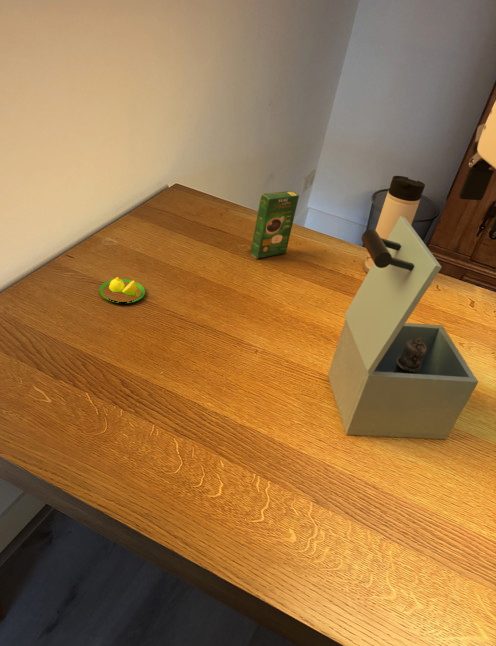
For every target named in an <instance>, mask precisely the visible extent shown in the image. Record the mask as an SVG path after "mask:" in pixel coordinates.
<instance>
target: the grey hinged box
mask: <svg viewBox="0 0 496 646" xmlns="http://www.w3.org/2000/svg"><path fill="white" fill-rule="evenodd" d="M419 337H421V338H422V341H421V342H423V343H424V344H425V346H426V352H425V355H424V357H423V359H422V361H421V365H422V368H421V370H420V371H418V372H417V374H408V373H392V372H387V371H394V370H395V368H396V365H397V362H396V359H397V358H398V357H399V356H401V355H402V352H403V350H404V348H405V345H406V343H407V342H408V341H410V340H417V338H419ZM327 378H328V381H329V385H330V388H331V392H332V394H333V398H334V400H335V401H334V402H335V404H336V408H337V410H338V413H339V417H340V420H341V423H342V427H343V430H344V432H345V435H347V436H365V437H366V436H367V437H369V436H370V437H386V438H387V437H388V438H389V437H390V438H406V439H407V438H410V439H431V440H447V439H448V437H449V435H450V434H451V432H452V430H453V429H454V427H455V425H456V423H457V421H458V420H459V418H460V415H461V414H462V412H463V410H464V409H465V408H466V405H467V403H468V401H469V400H470V398H471V396H472V394H473V392H474V391H475V389H476V387H477V385H478V383H479V381H478V379H477V377H476V376H475V375H474V373H473V372H472V370H471V368H470V366H469V365H468V364H467V361H466V360H465V359H464V357H463V355H462V354H461V352H460V350H459V349H458V348H457V346H456V345H455V343H454V341H453V340H452V337H450V335H449V333H448V332H447V330H446V329H445V326H444V325H442V324H429V323H415V322H406V323H405V324H404V326H403V327H402V329H401V330H400V332H399V333H398V335H397V336H396V338H395V339H394V341H393V342H392V344H391V345H390V347H389V349H388V350H387V352H386V353H385V355H384V356H383V358H382V359H381V361H380V362H379V364H378V365H377V367H376V368H375V370H374V371H373V373H371V372H367V370H366V367H365V365H364V362H363V360H362V357H361V355H360V352H359V350H358V348H357V345H356V343H355V340H354V338H353V335H352V333H351V330H350V328H349V325H348V323H347V320H346V319H345V320H344V323H343V325H342V330H341V333H340V335H339V339H338V342H337V345H336V348H335V351H334V353H333V357H332V360H331V364H330V367H329V370H328V373H327Z"/></svg>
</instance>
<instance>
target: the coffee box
mask: <svg viewBox="0 0 496 646" xmlns="http://www.w3.org/2000/svg"><path fill="white" fill-rule="evenodd" d="M299 197H300V195H299V194H298V193H296V192H295V191H293V190H285V191H277V192H265V193H261V194H260V199H259V204H258V210H257V216H256V220H255V226H254V232H253V237H252V241H251V247H250V253H249V254H250V255H251V256H252V257H253V258H254V259H257V260H258V259H265V258H268V257H273V256H280V255H284V254H286V253H287V251H288V246H289V243H290V236H291V232H292V229H293V223H294V220H295V216H296V210H297V207H298V203H299V199H300V198H299Z"/></svg>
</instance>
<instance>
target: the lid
mask: <svg viewBox="0 0 496 646" xmlns="http://www.w3.org/2000/svg"><path fill="white" fill-rule="evenodd" d="M375 230H376V229H372V228H371V229H367V230H365V231H364V232H363V233H362V235H361V242H362V243H363V245H364V247H365V249H366V251H367V254H368V253H369V254H370V256H371V258H372V260H373V262H374V263H373V265H372V267H371V269H370V270H369V272H368V273H366V275H365V278H364V280H363V281H362V283H361V284H360V287H359V288H358V289H357V291H356V293H355V295H354V297H353V299H352V300H351V302H350V304H349V306H348V307H347V310H346V311H345V313H344V319H345V320H347V323H348V325H349V328H350V330H351V333H352V335H353V338H354V340H355V343H356V345H357V348H358V350H359V352H360V355H361V357H362V360H363V362H364V365H365V367H366V370H367V372H371V373H373V371H374V370H375V368H376V367H377V365H378V364H379V362H380V361H381V359H382V358H383V356H384V355H385V353H386V352H387V350H388V349H389V347H390V345H391V344H392V342H393V341H394V339H395V338H396V336H397V335H398V333H399V332H400V330H401V329H402V327H403V326H404V324H405V323H407V321H408V319H409V318H410V316H411V315H412V313H413V312H414V310H415V309H416V307H417V306H418V304H419V303H420V301H421V299H422V298H423V296H424V295H425V294H426V292H427V291H428V289H429V287H430V286H431V285H432V283H433V281H434V280H435V279H436V277H437V275H438V274H439V272H440V270H441V269H442V266H441V264H440V263H439V262H438V261H439V260H437V259H436V257H435V256H434V255H433V253H432V252H431V251H430V249H429V248H428V246H427V245H426V244H425V243H424V241H423V240H422V238H421V237H420V236H419V234H418V233H417V231H416V230H415V229H414V227H413V226H412V224H411V225H410V223H409V222H408V221H407V219H406V218H405V217H402V216H400V217H399V219H398V221H397V222H396V224H395V226H394V228H393V230H392V231H391V233H390V235H389V237H388V238H387V240H386V239H382V238H380V236H379V235H378V233H377V232H376V231H375Z"/></svg>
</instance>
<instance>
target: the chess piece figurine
mask: <svg viewBox="0 0 496 646" xmlns="http://www.w3.org/2000/svg"><path fill="white" fill-rule="evenodd" d="M421 341H422V338H421V337H419V338H417V340H410V341H408V342H407V343H406V345H405V348H404V350H403V352H402V355H401V356H399V357H398V358H397V359H396V362H397V365H396V368H395V370H394V371H387V372H392V373H408V374H417V372H418V371H420V370H421V368H422V365H421V361H422V359H423V357H424V355H425V352H426V346H425V344H424V343H423V342H421Z"/></svg>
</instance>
